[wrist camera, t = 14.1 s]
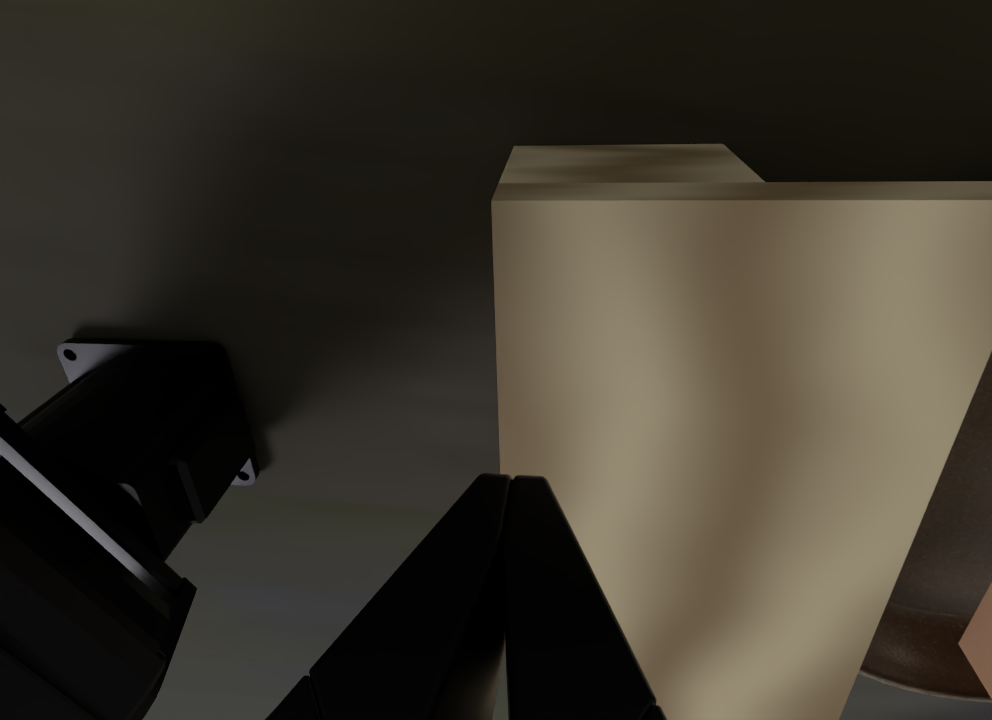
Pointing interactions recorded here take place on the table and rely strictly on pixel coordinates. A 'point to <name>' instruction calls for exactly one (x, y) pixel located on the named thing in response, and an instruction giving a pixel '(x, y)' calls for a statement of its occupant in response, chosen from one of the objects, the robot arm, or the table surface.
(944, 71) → the table surface
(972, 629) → the tan clay block
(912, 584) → the plant saucer
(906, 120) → the table surface
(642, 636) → the beige elongated piece
